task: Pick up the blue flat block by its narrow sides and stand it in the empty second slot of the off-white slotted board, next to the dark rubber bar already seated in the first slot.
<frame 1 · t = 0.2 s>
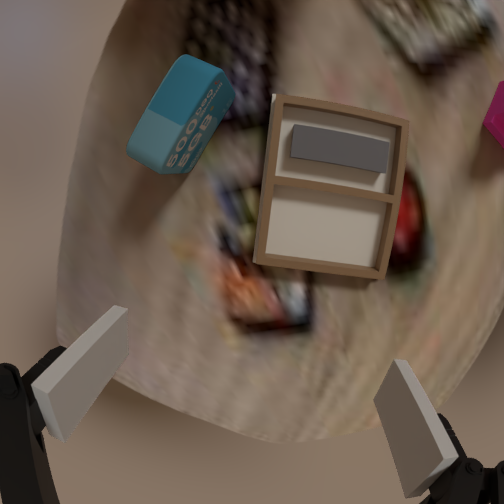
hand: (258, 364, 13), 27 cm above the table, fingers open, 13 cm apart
rubber bar: (338, 149, 35), point 1 cm above the table, touching slot board
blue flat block: (199, 126, 37), on the table
slot board: (332, 187, 37), on the table
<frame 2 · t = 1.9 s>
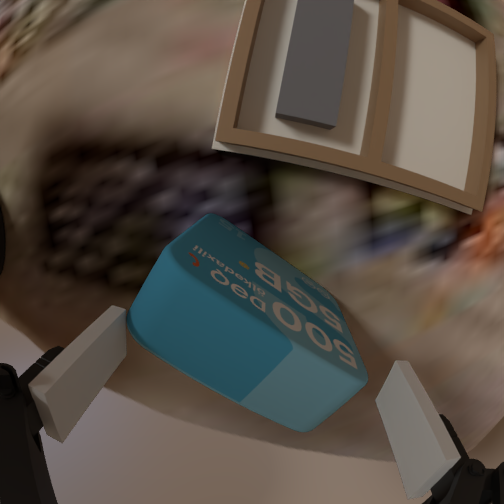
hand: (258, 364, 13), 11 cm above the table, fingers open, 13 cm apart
rubber bar: (315, 51, 18), point 1 cm above the table, touching slot board
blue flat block: (259, 274, 24), on the table, touching gripper
slot board: (376, 72, 19), on the table
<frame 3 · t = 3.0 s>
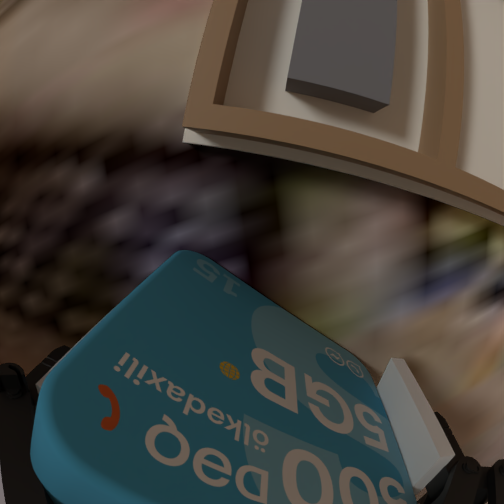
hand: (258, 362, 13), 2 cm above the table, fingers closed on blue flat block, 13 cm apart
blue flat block: (260, 337, 16), on the table, touching gripper
slot board: (429, 37, 11), on the table
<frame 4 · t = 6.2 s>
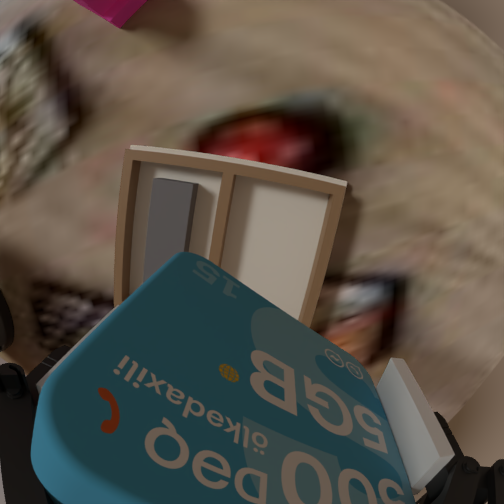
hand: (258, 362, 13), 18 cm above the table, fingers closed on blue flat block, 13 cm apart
rubber bar: (171, 238, 30), point 1 cm above the table, touching slot board
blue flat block: (260, 338, 16), point 16 cm above the table, touching gripper
slot board: (220, 246, 31), on the table
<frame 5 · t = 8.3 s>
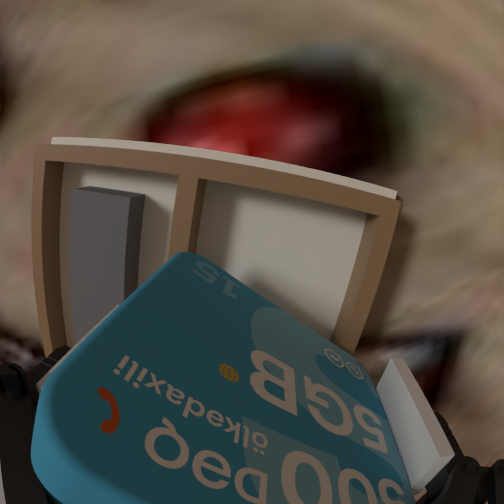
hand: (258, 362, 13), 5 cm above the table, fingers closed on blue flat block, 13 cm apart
rubber bar: (110, 282, 18), point 1 cm above the table, touching slot board
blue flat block: (260, 338, 16), point 3 cm above the table, touching gripper
slot board: (185, 295, 19), on the table
when the fingers open (5 cm above the table, at t = 9.6 s): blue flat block stays where it is, resting on slot board.
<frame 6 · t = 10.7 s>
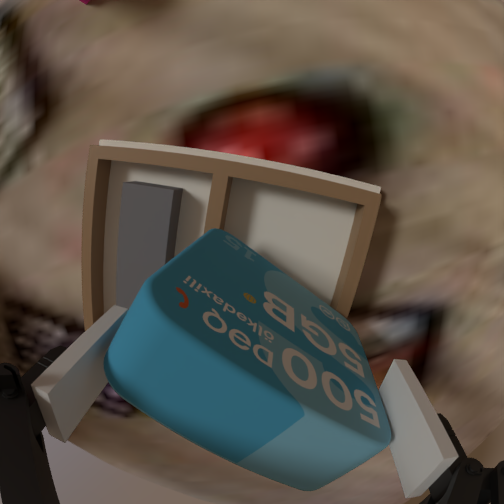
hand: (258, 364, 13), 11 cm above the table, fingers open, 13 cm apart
rubber bar: (150, 259, 23), point 1 cm above the table, touching slot board
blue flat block: (270, 299, 21), point 3 cm above the table, touching slot board
slot board: (212, 270, 24), on the table
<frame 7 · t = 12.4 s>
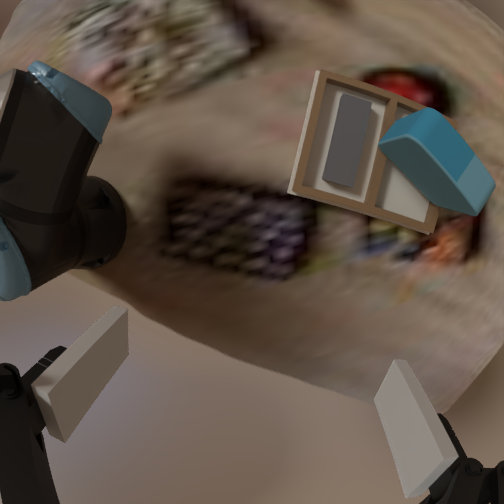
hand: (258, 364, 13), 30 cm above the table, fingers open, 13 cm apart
rubber bar: (345, 140, 37), point 1 cm above the table, touching slot board
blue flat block: (414, 164, 35), point 3 cm above the table, touching slot board
slot board: (378, 152, 38), on the table
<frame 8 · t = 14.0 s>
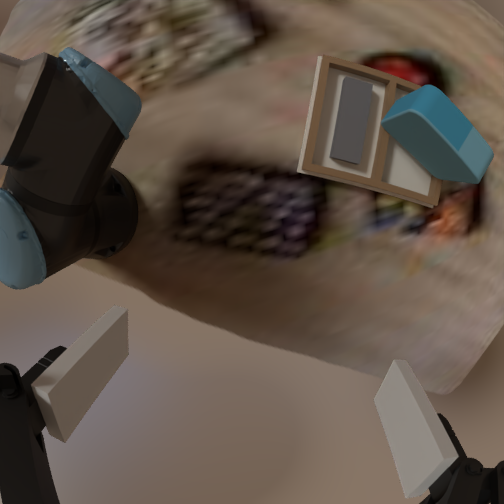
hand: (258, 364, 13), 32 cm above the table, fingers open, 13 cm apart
rubber bar: (350, 121, 38), point 1 cm above the table, touching slot board
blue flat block: (415, 140, 36), point 3 cm above the table, touching slot board
slot board: (380, 131, 39), on the table
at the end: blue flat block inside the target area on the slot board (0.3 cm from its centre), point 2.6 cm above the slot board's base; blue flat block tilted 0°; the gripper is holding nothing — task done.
